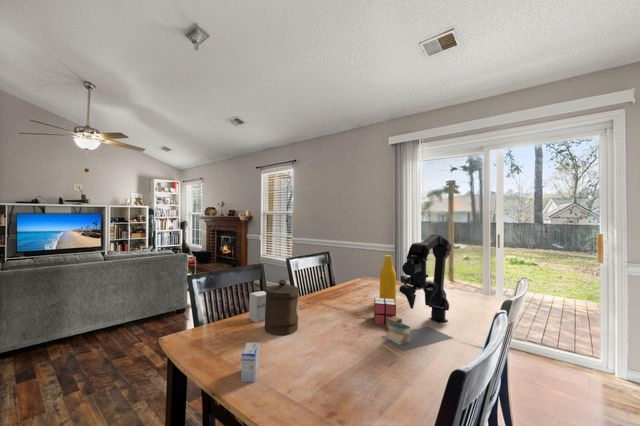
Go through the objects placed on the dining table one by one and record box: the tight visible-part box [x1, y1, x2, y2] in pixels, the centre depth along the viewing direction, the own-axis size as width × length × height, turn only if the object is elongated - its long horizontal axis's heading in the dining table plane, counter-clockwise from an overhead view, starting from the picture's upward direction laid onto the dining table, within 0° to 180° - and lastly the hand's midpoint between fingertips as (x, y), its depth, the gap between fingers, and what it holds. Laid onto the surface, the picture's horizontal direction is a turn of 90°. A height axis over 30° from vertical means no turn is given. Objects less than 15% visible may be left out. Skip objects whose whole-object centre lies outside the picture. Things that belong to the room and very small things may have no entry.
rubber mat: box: [380, 325, 454, 352], centre depth 119 cm, size 28×14×1 cm, turn 117°
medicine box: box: [240, 342, 260, 383], centre depth 89 cm, size 8×4×9 cm, turn 5°
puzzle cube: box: [373, 297, 397, 325], centre depth 138 cm, size 10×10×10 cm
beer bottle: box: [379, 254, 397, 305], centre depth 163 cm, size 9×9×29 cm
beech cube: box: [388, 322, 411, 345], centre depth 116 cm, size 6×6×6 cm
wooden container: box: [264, 279, 299, 336], centre depth 127 cm, size 15×15×22 cm
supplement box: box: [248, 290, 266, 323], centre depth 138 cm, size 7×7×13 cm
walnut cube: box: [385, 315, 403, 330], centre depth 129 cm, size 5×5×5 cm
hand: (419, 306), depth 125 cm, fingers open, 9 cm apart
